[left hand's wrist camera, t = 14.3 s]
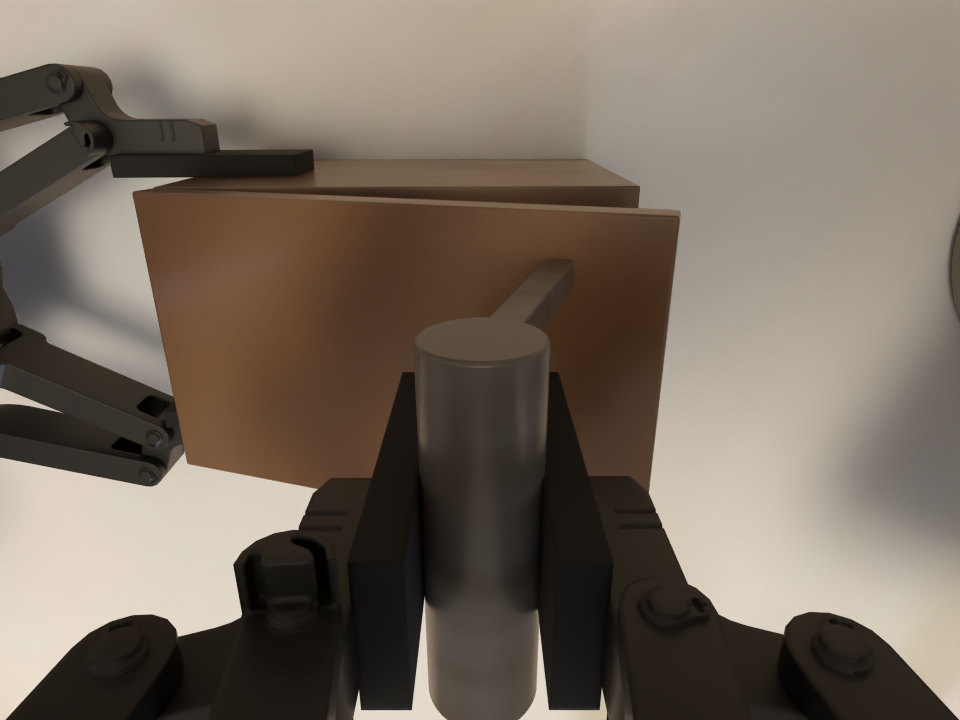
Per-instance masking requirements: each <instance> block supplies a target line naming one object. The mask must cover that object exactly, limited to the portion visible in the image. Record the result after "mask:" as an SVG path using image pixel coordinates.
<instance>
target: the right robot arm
mask: <svg viewBox="0 0 960 720" xmlns="http://www.w3.org/2000/svg"><path fill="white" fill-rule="evenodd" d="M112 88H113V87H112V83H111V80H110V78H109V77H108V75H107V74H106V73H105V72H103V71H102V70H100V69H97V68H94V67H84V66H74V65H64V64H47V65H43V66H40V67H37V68H33V69H30V70H26V71H23V72H20V73H16V74H13V75H10V76H6V77H3V78H0V132H1V131H4V130H8V129H11V128H15V127H18V126H22V125H25V124H29V123H32V122H35V121H39V120H42V119H46V118H49V117H53V116H56V115H60V114H63V113H65V115H66V117H67V119H68V120H69V121H68V122H65V123H64V124H65V126H70V127H69V128H67V129H66V130H64V131H63V132H61V133H60V134H58V135H56V136H55V137H53V138H52V139H50V140H49V141H47V142H46V143H44V144H43V145H41V146H39V147H38V148H36V149H35V150H33V151H32V152H30V153H29V154H27V155H26V156H24V157H22V158H21V159H19V160H18V161H16V162H15V163H13V164H12V165H10V166H9V167H7V168H5V169H4V170H2V171H1V172H0V236H2V235H3V234H5V233H7V232H8V231H10V230H11V229H13V228H14V227H15V224H16V223H18V222H19V221H21V220H23V219H24V218H26V217H27V216H29V215H31V214H32V213H34V212H35V211H37V210H39V209H40V208H42V207H43V206H45V205H47V204H48V203H50V202H51V201H53V200H55V199H56V198H58V197H59V196H61V195H63V194H64V193H66V192H67V191H69V190H71V189H72V188H74V187H75V186H77V185H79V184H80V183H82V182H84V181H85V180H87V179H88V178H90V177H92V176H93V175H95V174H96V173H98V172H100V171H101V170H103V169H104V168H106V167H108V166H109V165H111V168H112V173H113V177H114V178H141V177H256V176H299V175H301V174H304V173H306V172H309V171H311V170H314V160H313V150H220V147H219V141H218V134H217V127H216V124H214V123H211V122H209V121H206V120H204V119H135V118H132V117H129V116H128V115H126V114H125V113H124V112H123V111H122V110H121V109H120V108H119V107H118V105H117V104H116V102H115V100H114V98H113V96H112V95H111V94H112ZM0 388H3V389H6V390H9V391H11V392H14V393H16V394H18V395H21V396H23V397H26V398H28V399H31V400H33V401H36V402H38V403H40V404H43V405H45V406H48V407H50V408H53V409H55V410H58V411H60V412H62V413H60V412H55V411H50V410H45V409H40V408H36V407H31V406H24V405H16V404H0V457H1V458H6V459H11V460H16V461H21V462H26V463H31V464H36V465H41V466H47V467H52V468H57V469H62V470H67V471H72V472H77V473H82V474H87V475H92V476H97V477H103V478H108V479H113V480H118V481H123V482H128V483H133V484H138V485H143V486H155V485H157V484H158V483H159V482H160V481H161V480H162V479H163V478H164V476H165V475H166V474H167V473H168V472H169V470H170V469H171V468H172V467H173V466H174V464H175V463H176V462H177V461H178V460H179V458H180V457H181V456H182V455H183V454H184V451H185V449H184V444H183V439H182V434H181V430H180V425H179V420H178V415H177V410H176V405H175V400H174V397H172V396H170V395H168V394H165V393H163V392H161V391H158V390H156V389H154V388H151V387H149V386H147V385H144V384H142V383H140V382H137V381H135V380H133V379H130V378H128V377H126V376H123V375H121V374H119V373H116V372H114V371H112V370H109V369H107V368H105V367H102V366H100V365H98V364H95V363H93V362H91V361H88V360H86V359H84V358H81V357H79V356H77V355H74V354H72V353H70V352H67V351H65V350H63V349H60V348H58V347H56V346H53V345H51V344H49V343H47V342H46V337H45V336H44V335H43V334H41V333H39V332H37V331H35V330H32V329H30V328H28V327H25V326H23V325H21V324H18V322H17V318H16V315H15V311H14V308H13V305H12V303H11V301H10V300H9V298H8V296H7V294H6V293H5V291H4V289H3V287H2V267H1V263H0Z"/></svg>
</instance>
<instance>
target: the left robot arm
mask: <svg viewBox="0 0 960 720" xmlns="http://www.w3.org/2000/svg"><path fill="white" fill-rule="evenodd" d="M952 290H953V297H954V301H955V305H956V309H957V311H958V314H959V317H960V226H959V229H958V232H957V236H956V240H955V245H954V250H953V258H952ZM233 566H234V571H235V577H236V582H237V588H238V593H239V599H240V604H241V610H242V616H241V618H239V619H237V620H235V621H233V622H231V623H229V624H226V625H222V626H219V627H216V628H213V629H209V630H205V631H201V632H196V633H192V634H188V635H184V636H180V637H178V636H177V631H176V628H175V627H174V626H173V625H172V624H171V623H170V622H169V621H168V619H165V618H162V617H159V616H155V615H132V616H129V617H125V618H122V619H118V620H115V621H112V622H109V623H107V624H106V625H104V626H102V627H100V628H98V629H96V630H94V631H92V632H90V633H89V634H88V635H87V636H85V637H84V638H83V639H82V640H81V641H79V642H78V643H77V644H76V645H75V646H74V647H72V648H71V649H70V651H69V652H68V653H67V654H66V655H65V656H64V657H63V658H62V659H61V660H60V661H59V662H58V664H57V665H56V666H55V667H54V668H53V669H52V670H51V671H50V672H49V673H48V674H47V675H46V677H45V678H44V679H43V680H42V681H41V682H40V683H39V684H38V685H37V686H36V687H35V688H34V690H33V691H32V692H31V693H30V694H29V695H28V696H27V697H26V698H25V699H24V700H23V701H22V703H21V704H20V705H19V706H18V707H17V708H16V709H15V710H14V711H13V712H12V713H11V714H10V716H9V717H8V718H7V719H6V720H353V716H354V711H355V706H356V701H357V696H358V691H359V693H360V703H361V710H412V703H413V694H414V685H415V676H416V667H417V658H418V650H419V641H420V632H421V623H422V614H423V605H424V596H425V591H424V569H423V547H422V525H421V503H420V480H419V459H418V437H417V415H416V393H415V372H402V375H401V379H400V382H399V386H398V389H397V393H396V396H395V399H394V403H393V406H392V410H391V413H390V417H389V420H388V424H387V427H386V430H385V434H384V437H383V441H382V444H381V448H380V451H379V455H378V458H377V461H376V465H375V468H374V472H373V475H372V478H330V479H329V480H328V481H327V482H326V483H325V484H323V485H322V486H321V487H320V488H319V489H318V490H317V491H315V492H314V493H313V495H312V497H311V500H310V502H309V504H308V507H307V509H306V511H305V515H304V516H303V518H302V521H301V523H300V525H299V530H290V531H285V532H279V533H274V534H272V535H269V536H267V537H265V538H262V539H260V540H257V541H256V542H254V543H253V544H252V545H250V546H249V547H248V548H246V549H245V550H244V551H242V552H241V554H240V555H239V557H238V558H237V560H236V561H235V563H234V564H233ZM538 616H539V625H540V634H541V643H542V652H543V661H544V670H545V678H546V687H547V696H548V705H549V710H600V700H601V690H603V694H604V699H605V704H606V709H607V720H959V719H958V718H957V717H956V716H955V715H954V714H953V713H952V712H951V711H950V710H949V708H948V707H947V706H946V705H945V704H944V703H943V702H942V701H941V700H940V699H939V698H938V697H937V696H936V695H935V693H934V692H933V691H932V690H931V689H930V688H929V687H928V686H927V685H926V684H925V683H924V682H923V681H922V679H921V678H920V677H919V676H918V675H917V674H916V673H915V672H914V671H913V670H912V669H911V668H910V667H909V665H908V664H907V663H906V662H905V661H904V660H903V659H902V658H901V657H900V656H899V655H898V654H897V653H896V651H895V650H894V649H893V648H892V647H891V646H890V645H889V644H888V643H886V642H885V641H884V640H883V639H882V638H880V637H879V636H878V635H877V634H876V633H875V632H873V631H872V630H870V629H868V628H867V627H865V626H863V625H861V624H859V623H857V622H855V621H853V620H851V619H848V618H845V617H841V616H838V615H835V614H831V613H820V612H808V613H805V614H801V615H798V616H795V617H794V618H793V619H792V620H791V621H790V622H789V623H788V624H787V625H786V627H785V631H784V635H783V634H779V633H775V632H770V631H766V630H762V629H758V628H754V627H750V626H746V625H743V624H740V623H737V622H734V621H731V620H729V619H727V618H725V617H723V616H721V615H719V614H718V613H717V611H716V609H715V608H714V606H713V604H712V603H711V601H710V599H709V598H707V597H706V596H705V595H704V594H703V593H701V592H700V591H699V590H698V589H697V588H695V587H693V586H691V585H689V584H688V583H687V581H686V579H685V576H684V574H683V572H682V569H681V567H680V565H679V562H678V560H677V558H676V555H675V553H674V551H673V548H672V546H671V544H670V542H669V539H668V537H667V535H666V532H665V530H664V528H662V523H661V521H660V518H659V516H658V514H657V513H656V509H655V507H654V505H653V502H652V500H651V498H650V495H649V493H648V491H647V490H645V489H644V488H643V487H642V486H641V485H640V484H639V483H637V482H636V481H635V480H634V479H633V478H632V477H631V476H588V473H587V469H586V466H585V462H584V459H583V455H582V452H581V448H580V445H579V442H578V438H577V435H576V431H575V428H574V424H573V421H572V418H571V414H570V411H569V407H568V404H567V400H566V397H565V393H564V390H563V387H562V383H561V380H560V376H559V373H558V372H549V393H548V417H547V441H546V466H545V475H544V478H543V493H542V517H541V541H540V564H539V588H538Z"/></svg>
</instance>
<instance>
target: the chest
mask: <svg viewBox="0 0 960 720" xmlns="http://www.w3.org/2000/svg"><path fill="white" fill-rule="evenodd" d="M154 188H166V189H190V190H213V191H237V192H261V193H285V194H308V195H332V196H356V197H379V198H403V199H427V200H451V201H474V202H498V203H522V204H545V205H569V206H593V207H616V208H638V203H639V192H640V186H638V185H636V184H634V183H632V182H630V181H628V180H626V179H624V178H622V177H620V176H618V175H616V174H614V173H612V172H610V171H608V170H606V169H604V168H603V167H601V166H599V165H597V164H595V163H593V162H591V161H589V160H587V159H498V160H314V170H311V171H309V172H306V173H304V174H301V175H299V176H256V177H193V178H189V179H185V180H181V181H178V182H174V183H170V184H166V185H162V186H158V187H154Z"/></svg>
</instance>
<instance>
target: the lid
mask: <svg viewBox="0 0 960 720" xmlns="http://www.w3.org/2000/svg"><path fill="white" fill-rule="evenodd" d="M133 198H134V203H135V208H136V213H137V218H138V223H139V228H140V233H141V238H142V243H143V247H144V252H145V257H146V262H147V267H148V272H149V277H150V282H151V287H152V292H153V297H154V302H155V307H156V311H157V316H158V321H159V326H160V331H161V336H162V341H163V346H164V351H165V356H166V361H167V366H168V370H169V375H170V380H171V385H172V390H173V395H174V400H175V405H176V410H177V415H178V420H179V425H180V430H181V434H182V439H183V444H184V449H185V454H186V459H187V463H188V464H191V465H196V466H201V467H206V468H211V469H217V470H222V471H227V472H232V473H237V474H243V475H248V476H253V477H258V478H263V479H269V480H274V481H279V482H284V483H289V484H295V485H300V486H305V487H310V488H315V489H319V488H320V487H321V486H322V485H323V484H325V483H326V482H327V481H328V480H329V479H330V478H372V475H373V472H374V468H375V465H376V461H377V458H378V455H379V451H380V448H381V444H382V441H383V437H384V434H385V430H386V427H387V424H388V420H389V417H390V413H391V410H392V406H393V403H394V399H395V396H396V393H397V389H398V386H399V382H400V379H401V375H402V372H415V393H416V415H417V437H418V459H419V480H420V503H421V525H422V547H423V569H424V591H425V613H426V635H427V657H428V680H429V692H430V696H431V699H432V701H433V703H434V705H435V707H436V708H437V710H438V711H439V712H440V713H441V715H442V716H443V717H445V718H446V719H447V720H518V719H520V718H521V717H522V716H523V715H524V714H525V713H526V711H527V710H528V709H529V707H530V706H531V704H532V702H533V700H534V697H535V693H536V683H537V659H538V635H539V616H538V588H539V564H540V541H541V517H542V493H543V478H544V475H545V466H546V441H547V417H548V393H549V372H558V373H559V376H560V380H561V383H562V387H563V390H564V393H565V397H566V400H567V404H568V407H569V411H570V414H571V418H572V421H573V424H574V428H575V431H576V435H577V438H578V442H579V445H580V448H581V452H582V455H583V459H584V462H585V466H586V469H587V473H588V476H631V477H632V478H633V479H634V480H635V481H636V482H637V483H639V484H640V485H641V486H642V487H643V488H644V489H645V490H647V491H648V493H649V487H650V478H651V469H652V461H653V452H654V443H655V434H656V426H657V417H658V408H659V399H660V391H661V382H662V373H663V364H664V356H665V347H666V338H667V329H668V320H669V312H670V303H671V294H672V285H673V277H674V268H675V259H676V250H677V242H678V233H679V224H680V215H681V213H680V211H679V210H664V209H640V208H616V207H593V206H569V205H545V204H522V203H498V202H474V201H451V200H427V199H403V198H379V197H356V196H332V195H308V194H285V193H261V192H237V191H213V190H190V189H166V188H153V189H147V190H140V191H135V192H133Z"/></svg>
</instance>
